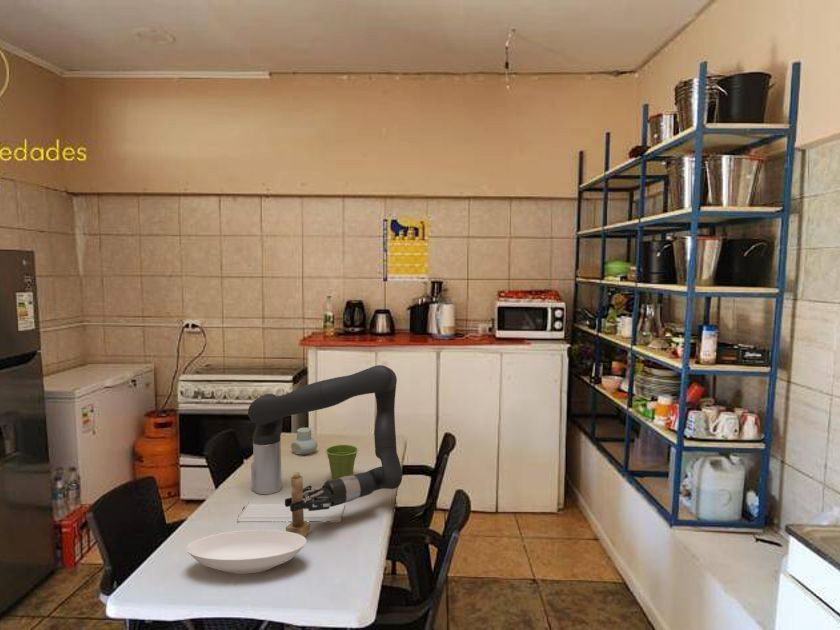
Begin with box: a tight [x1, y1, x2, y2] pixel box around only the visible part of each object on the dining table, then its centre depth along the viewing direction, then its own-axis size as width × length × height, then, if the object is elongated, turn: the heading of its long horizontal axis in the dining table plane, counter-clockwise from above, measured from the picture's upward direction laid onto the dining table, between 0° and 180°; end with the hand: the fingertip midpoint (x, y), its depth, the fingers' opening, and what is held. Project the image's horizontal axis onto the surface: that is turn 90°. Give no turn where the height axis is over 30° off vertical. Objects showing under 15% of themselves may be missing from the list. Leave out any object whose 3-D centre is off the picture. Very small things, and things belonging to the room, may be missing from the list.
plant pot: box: [325, 444, 359, 480], centre depth 195 cm, size 12×12×11 cm
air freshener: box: [290, 427, 319, 456], centre depth 223 cm, size 11×8×10 cm
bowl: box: [186, 529, 307, 575], centre depth 137 cm, size 30×15×6 cm, turn 94°
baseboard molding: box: [236, 503, 346, 523], centre depth 166 cm, size 31×3×12 cm
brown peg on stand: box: [285, 471, 311, 538], centre depth 153 cm, size 5×5×18 cm
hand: (288, 505), depth 151 cm, fingers closed on brown peg on stand, 3 cm apart
